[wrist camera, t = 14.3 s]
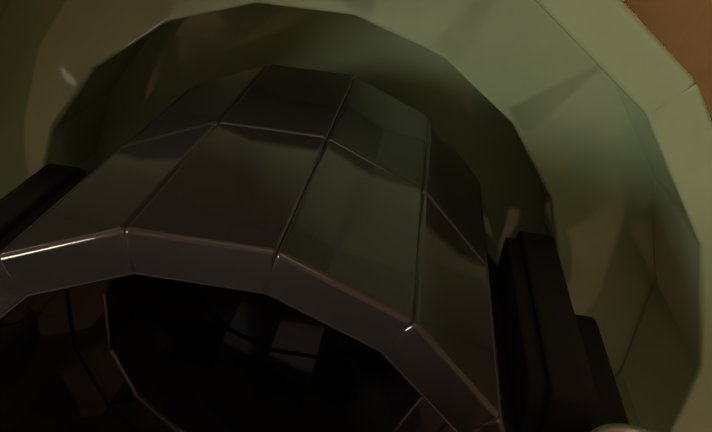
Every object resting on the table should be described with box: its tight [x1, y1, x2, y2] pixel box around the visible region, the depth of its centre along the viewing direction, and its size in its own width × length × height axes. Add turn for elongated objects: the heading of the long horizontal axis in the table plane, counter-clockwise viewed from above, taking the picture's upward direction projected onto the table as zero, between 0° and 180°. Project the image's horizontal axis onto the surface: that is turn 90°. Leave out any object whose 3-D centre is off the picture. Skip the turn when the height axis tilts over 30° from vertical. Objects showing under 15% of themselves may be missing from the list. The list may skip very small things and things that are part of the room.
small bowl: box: [0, 64, 518, 432], centre depth 10 cm, size 7×7×6 cm
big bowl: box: [0, 0, 712, 432], centre depth 12 cm, size 13×13×5 cm
